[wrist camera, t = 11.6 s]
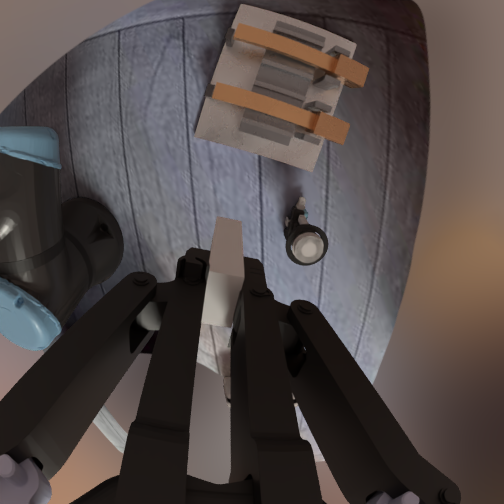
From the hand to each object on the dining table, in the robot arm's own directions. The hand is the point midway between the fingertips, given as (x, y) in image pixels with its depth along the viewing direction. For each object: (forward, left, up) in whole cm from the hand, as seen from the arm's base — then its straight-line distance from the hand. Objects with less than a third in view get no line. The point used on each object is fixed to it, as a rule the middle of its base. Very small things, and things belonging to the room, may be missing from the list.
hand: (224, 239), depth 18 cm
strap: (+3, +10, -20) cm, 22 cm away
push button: (+11, -4, -24) cm, 27 cm away
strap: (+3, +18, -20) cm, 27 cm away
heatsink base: (+2, +14, -24) cm, 28 cm away
